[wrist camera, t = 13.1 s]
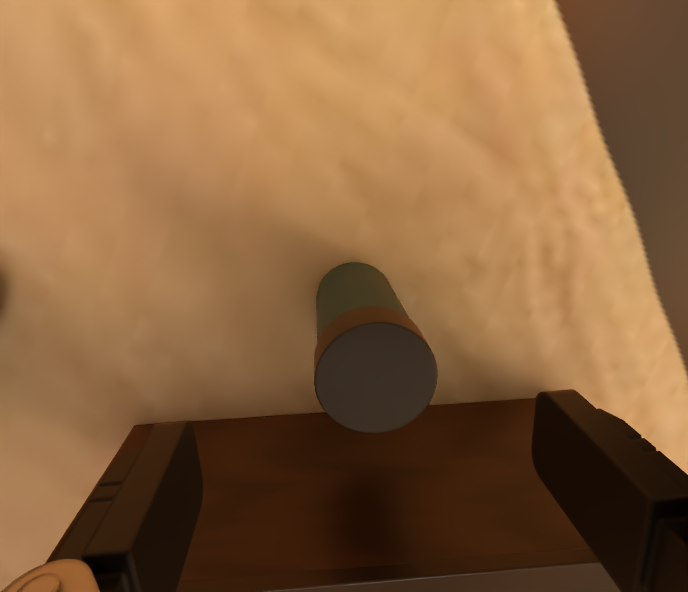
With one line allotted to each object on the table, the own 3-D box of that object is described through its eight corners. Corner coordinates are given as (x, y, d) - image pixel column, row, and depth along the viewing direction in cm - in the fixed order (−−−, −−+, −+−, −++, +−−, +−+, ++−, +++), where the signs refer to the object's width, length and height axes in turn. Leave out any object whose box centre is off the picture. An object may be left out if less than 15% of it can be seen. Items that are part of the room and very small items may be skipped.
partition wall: (138, 463, 24) (18, 676, 14) (129, 419, 23) (-4, 613, 13) (562, 433, 25) (718, 611, 15) (567, 390, 24) (736, 550, 14)
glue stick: (316, 338, 22) (317, 438, 14) (311, 262, 21) (310, 326, 13) (394, 334, 22) (436, 430, 15) (394, 258, 21) (440, 319, 13)
